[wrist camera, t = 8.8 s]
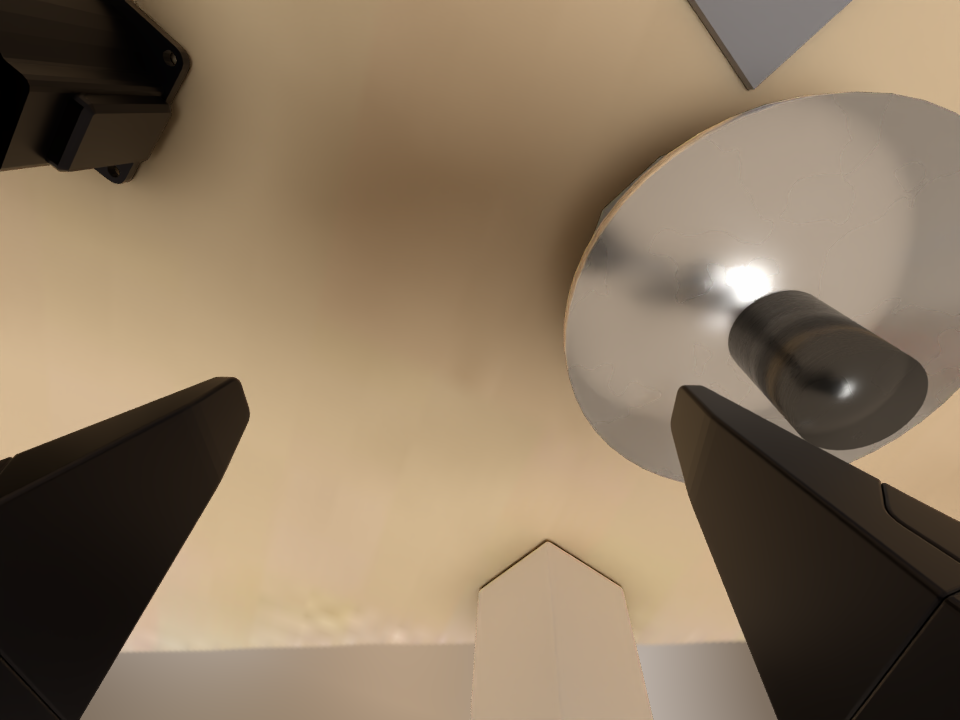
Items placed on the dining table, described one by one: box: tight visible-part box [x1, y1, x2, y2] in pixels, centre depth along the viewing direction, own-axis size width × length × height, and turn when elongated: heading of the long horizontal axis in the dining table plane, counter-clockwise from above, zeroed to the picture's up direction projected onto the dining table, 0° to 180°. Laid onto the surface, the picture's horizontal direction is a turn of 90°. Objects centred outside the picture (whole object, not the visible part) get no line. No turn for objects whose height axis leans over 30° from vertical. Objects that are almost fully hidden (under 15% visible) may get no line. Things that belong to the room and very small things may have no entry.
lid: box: [564, 92, 960, 483], centre depth 13 cm, size 14×14×5 cm
